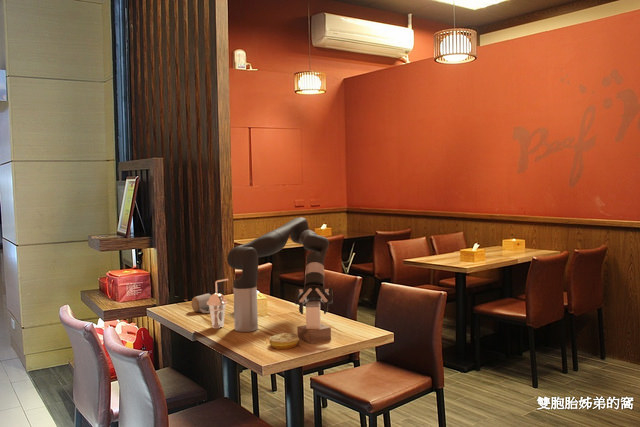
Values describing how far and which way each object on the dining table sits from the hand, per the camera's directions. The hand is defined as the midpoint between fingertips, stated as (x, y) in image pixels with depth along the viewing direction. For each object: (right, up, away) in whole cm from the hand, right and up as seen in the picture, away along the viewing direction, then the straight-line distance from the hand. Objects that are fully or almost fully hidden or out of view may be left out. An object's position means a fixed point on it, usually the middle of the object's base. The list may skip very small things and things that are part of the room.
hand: (313, 312), depth 213 cm
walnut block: (0, -10, +2) cm, 10 cm away
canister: (0, -6, +2) cm, 6 cm away
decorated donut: (-10, -11, -5) cm, 16 cm away
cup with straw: (-39, -10, +23) cm, 46 cm away
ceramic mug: (-50, -8, +52) cm, 73 cm away
